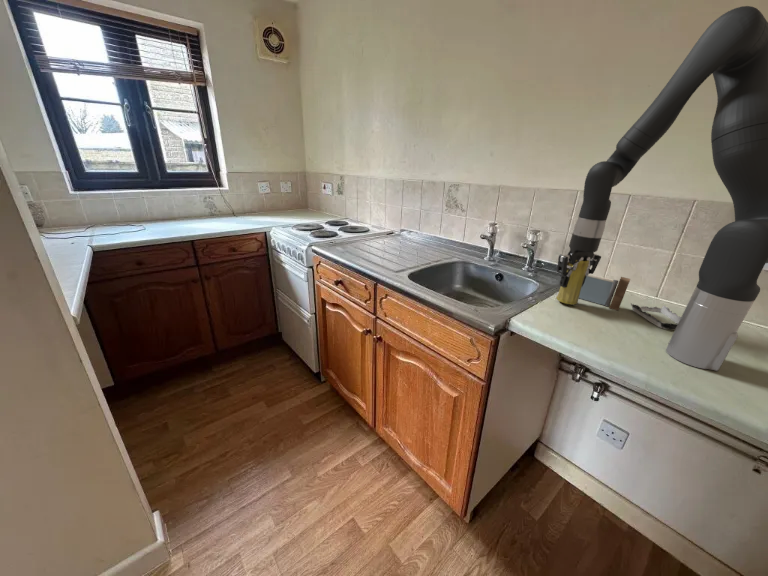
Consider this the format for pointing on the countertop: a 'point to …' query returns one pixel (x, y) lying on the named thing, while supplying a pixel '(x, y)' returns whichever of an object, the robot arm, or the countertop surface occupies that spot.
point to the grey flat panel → (598, 289)
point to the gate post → (619, 293)
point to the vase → (573, 284)
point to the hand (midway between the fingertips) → (571, 286)
